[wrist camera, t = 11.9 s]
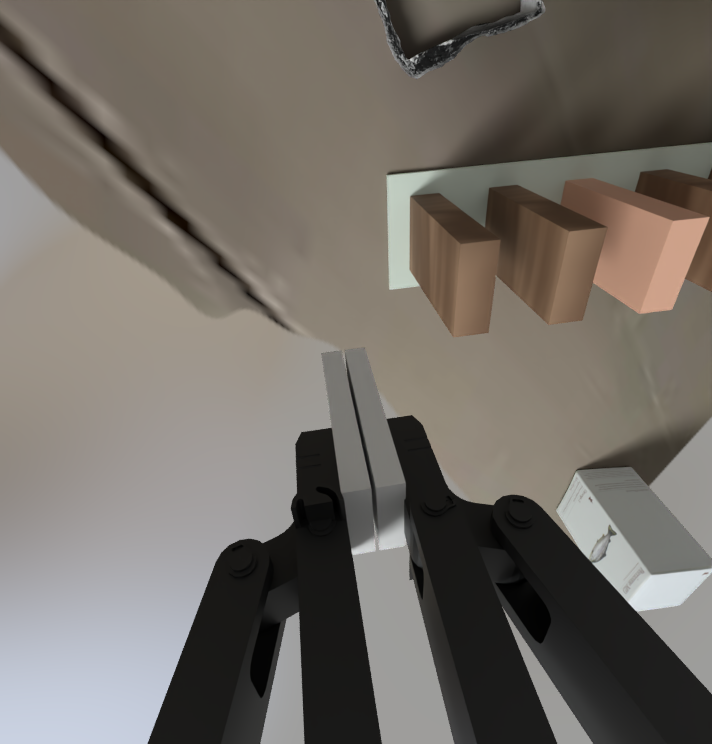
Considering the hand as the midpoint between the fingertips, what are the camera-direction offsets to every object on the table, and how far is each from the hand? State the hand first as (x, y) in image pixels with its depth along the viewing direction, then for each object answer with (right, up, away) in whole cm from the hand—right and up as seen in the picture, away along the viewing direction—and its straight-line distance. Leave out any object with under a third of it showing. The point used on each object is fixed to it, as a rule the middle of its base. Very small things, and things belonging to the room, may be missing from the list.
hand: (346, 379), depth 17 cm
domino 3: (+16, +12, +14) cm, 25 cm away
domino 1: (+5, +10, +14) cm, 18 cm away
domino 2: (+11, +11, +14) cm, 21 cm away
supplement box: (+29, -14, +35) cm, 47 cm away
